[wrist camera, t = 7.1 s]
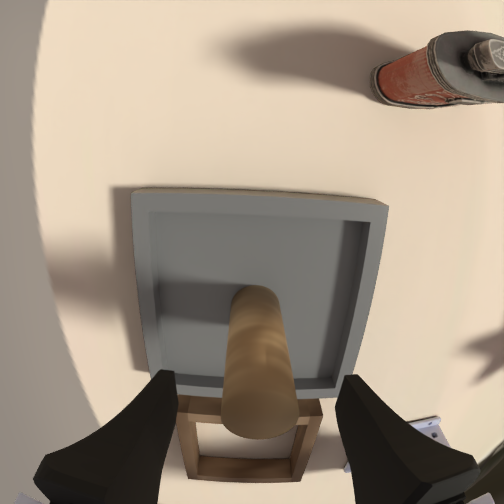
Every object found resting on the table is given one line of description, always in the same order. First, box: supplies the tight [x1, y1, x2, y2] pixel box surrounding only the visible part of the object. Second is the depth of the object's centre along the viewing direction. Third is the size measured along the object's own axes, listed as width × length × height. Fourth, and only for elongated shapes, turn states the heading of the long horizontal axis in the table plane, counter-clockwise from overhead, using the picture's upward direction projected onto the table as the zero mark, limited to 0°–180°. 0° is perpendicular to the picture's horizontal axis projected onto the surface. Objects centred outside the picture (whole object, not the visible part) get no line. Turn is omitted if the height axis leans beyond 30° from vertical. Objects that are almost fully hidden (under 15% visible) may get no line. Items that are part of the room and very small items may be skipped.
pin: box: [221, 285, 299, 439], centre depth 15 cm, size 3×3×9 cm
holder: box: [176, 394, 323, 483], centre depth 23 cm, size 11×11×2 cm
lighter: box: [370, 31, 504, 109], centre depth 11 cm, size 8×3×10 cm, turn 103°
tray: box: [131, 188, 389, 399], centre depth 19 cm, size 14×14×2 cm
